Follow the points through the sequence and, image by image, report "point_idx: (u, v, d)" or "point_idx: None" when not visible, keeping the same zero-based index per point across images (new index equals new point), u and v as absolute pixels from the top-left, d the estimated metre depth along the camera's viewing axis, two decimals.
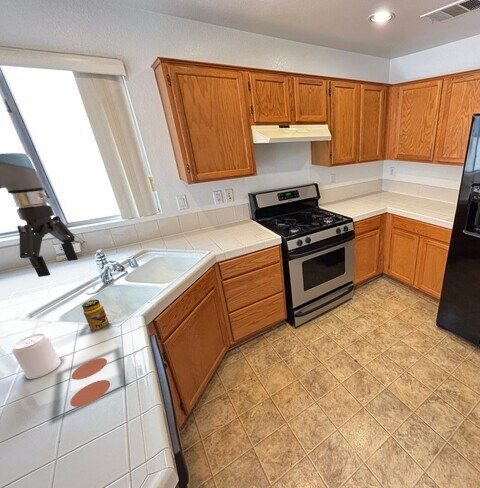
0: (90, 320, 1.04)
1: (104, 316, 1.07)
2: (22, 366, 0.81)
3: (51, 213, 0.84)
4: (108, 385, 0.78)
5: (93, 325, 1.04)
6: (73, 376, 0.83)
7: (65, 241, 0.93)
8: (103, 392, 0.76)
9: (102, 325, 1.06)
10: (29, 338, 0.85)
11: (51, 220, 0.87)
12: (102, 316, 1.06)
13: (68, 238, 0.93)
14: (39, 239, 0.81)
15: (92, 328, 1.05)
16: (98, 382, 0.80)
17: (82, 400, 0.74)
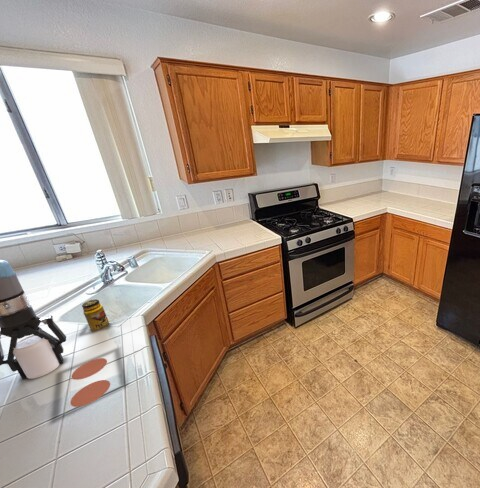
0: (90, 320, 1.04)
1: (104, 316, 1.07)
2: (22, 366, 0.81)
3: (16, 323, 0.78)
4: (108, 385, 0.78)
5: (93, 325, 1.04)
6: (73, 376, 0.83)
7: None
8: (103, 392, 0.76)
9: (102, 325, 1.06)
10: (29, 338, 0.85)
11: (34, 322, 0.82)
12: (102, 316, 1.06)
13: (53, 342, 0.86)
14: (11, 346, 0.80)
15: (92, 328, 1.05)
16: (98, 382, 0.80)
17: (82, 400, 0.74)
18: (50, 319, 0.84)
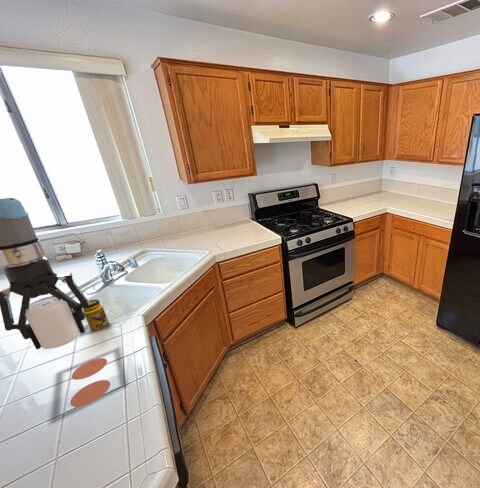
0: (90, 320, 1.04)
1: (104, 316, 1.07)
2: (36, 332, 0.66)
3: (29, 276, 0.62)
4: (108, 385, 0.78)
5: (93, 325, 1.04)
6: (73, 376, 0.83)
7: None
8: (103, 392, 0.76)
9: (102, 325, 1.06)
10: (44, 300, 0.69)
11: (51, 279, 0.67)
12: (102, 316, 1.06)
13: (73, 306, 0.71)
14: (23, 307, 0.64)
15: (92, 328, 1.05)
16: (98, 382, 0.80)
17: (82, 400, 0.74)
18: (70, 276, 0.69)
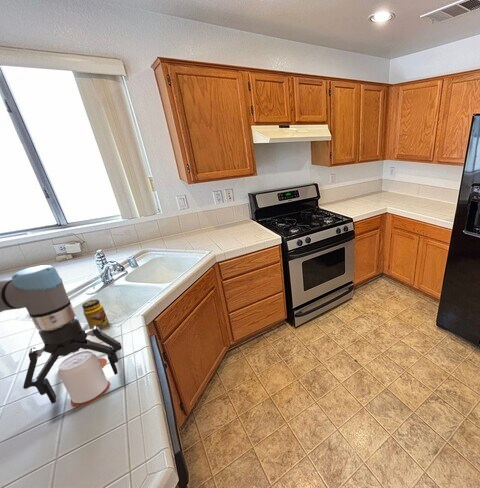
0: (90, 320, 1.04)
1: (104, 316, 1.07)
2: (69, 389, 0.71)
3: (63, 338, 0.67)
4: (108, 385, 0.78)
5: (93, 325, 1.04)
6: None
7: None
8: (103, 392, 0.76)
9: (102, 325, 1.06)
10: (75, 356, 0.74)
11: (81, 337, 0.71)
12: (102, 316, 1.06)
13: (107, 352, 0.76)
14: (48, 365, 0.68)
15: None
16: None
17: None
18: (96, 330, 0.73)
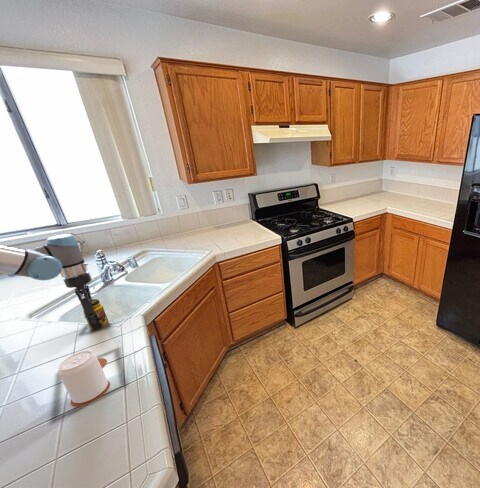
0: None
1: (104, 316, 1.07)
2: (69, 389, 0.71)
3: (91, 278, 1.03)
4: (108, 385, 0.78)
5: None
6: None
7: None
8: (103, 392, 0.76)
9: (102, 325, 1.06)
10: (75, 356, 0.74)
11: (84, 284, 1.05)
12: (102, 316, 1.06)
13: None
14: (90, 301, 1.02)
15: None
16: None
17: None
18: None
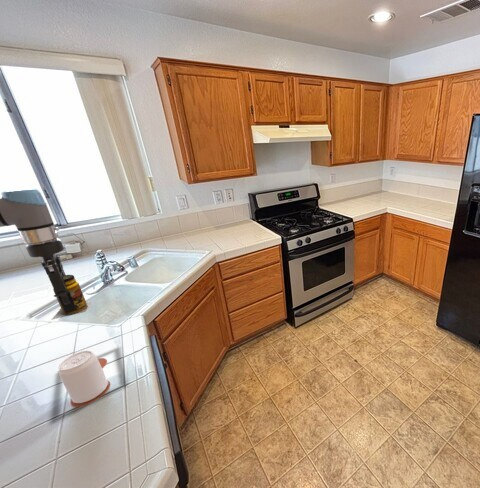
0: None
1: (80, 296, 0.86)
2: (69, 389, 0.71)
3: (63, 247, 0.82)
4: (108, 385, 0.78)
5: None
6: None
7: None
8: (103, 392, 0.76)
9: (77, 307, 0.85)
10: (75, 356, 0.74)
11: (55, 255, 0.83)
12: (78, 296, 0.85)
13: None
14: (62, 275, 0.81)
15: None
16: None
17: None
18: None
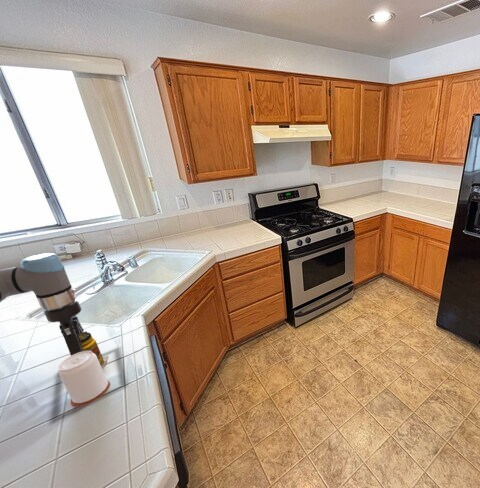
0: None
1: (97, 353, 0.85)
2: (69, 389, 0.71)
3: (80, 307, 0.81)
4: (108, 385, 0.78)
5: None
6: None
7: None
8: (103, 392, 0.76)
9: None
10: (75, 356, 0.74)
11: None
12: (95, 354, 0.84)
13: (82, 332, 0.87)
14: (78, 337, 0.79)
15: None
16: None
17: None
18: None
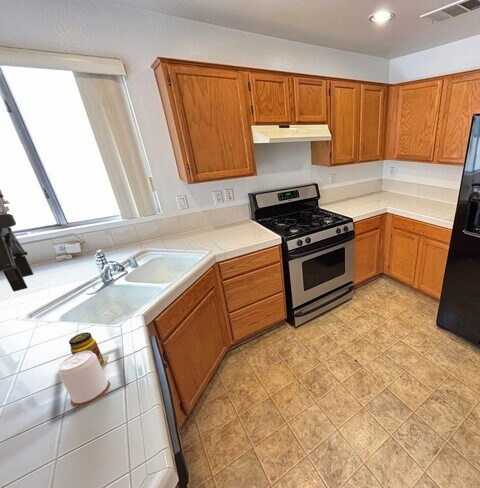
0: None
1: (97, 353, 0.85)
2: (69, 389, 0.71)
3: (15, 222, 0.77)
4: (108, 385, 0.78)
5: None
6: None
7: (17, 255, 0.83)
8: (103, 392, 0.76)
9: None
10: (75, 356, 0.74)
11: (8, 231, 0.78)
12: None
13: (21, 251, 0.83)
14: (10, 250, 0.74)
15: None
16: None
17: None
18: None
